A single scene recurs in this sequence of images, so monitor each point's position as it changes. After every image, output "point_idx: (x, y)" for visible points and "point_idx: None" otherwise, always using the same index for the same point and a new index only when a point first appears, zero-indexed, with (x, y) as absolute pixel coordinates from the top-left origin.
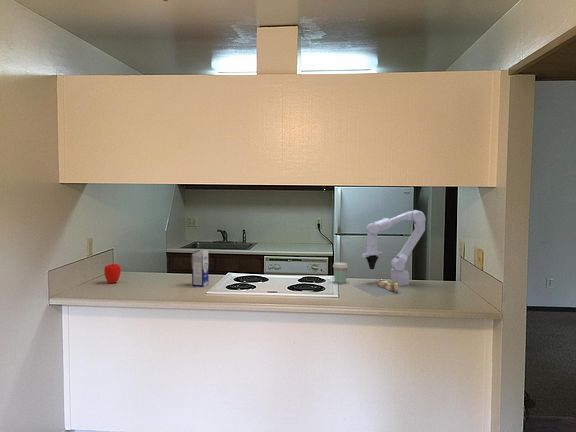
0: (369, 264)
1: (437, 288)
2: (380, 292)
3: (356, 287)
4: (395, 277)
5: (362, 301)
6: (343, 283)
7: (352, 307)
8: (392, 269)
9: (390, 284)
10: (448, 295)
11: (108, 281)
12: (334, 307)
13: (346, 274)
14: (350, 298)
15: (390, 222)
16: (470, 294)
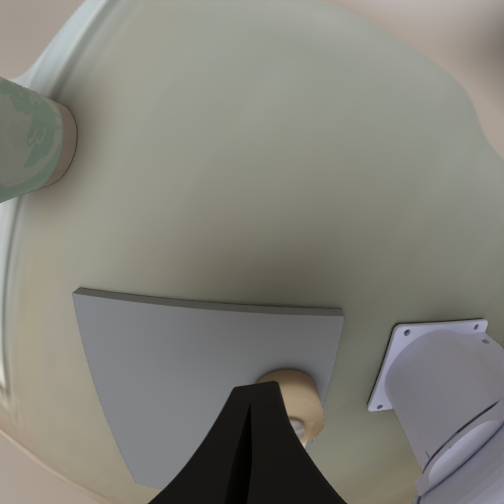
0: (215, 452)
1: None
2: (181, 468)
3: (84, 343)
4: (407, 439)
5: (78, 465)
6: (41, 187)
7: (47, 469)
8: (444, 459)
9: None
10: (417, 492)
11: None
12: (9, 442)
13: (9, 183)
14: (43, 427)
15: None
16: None
